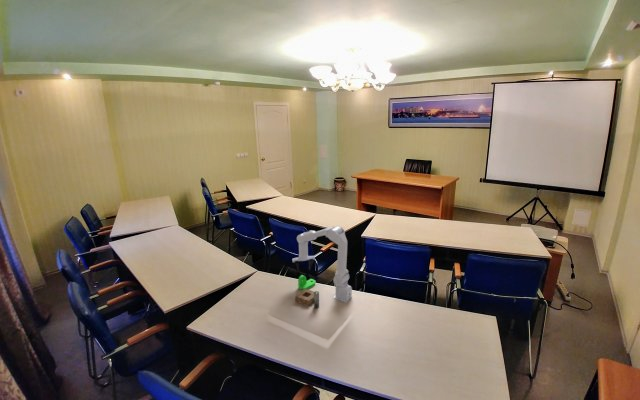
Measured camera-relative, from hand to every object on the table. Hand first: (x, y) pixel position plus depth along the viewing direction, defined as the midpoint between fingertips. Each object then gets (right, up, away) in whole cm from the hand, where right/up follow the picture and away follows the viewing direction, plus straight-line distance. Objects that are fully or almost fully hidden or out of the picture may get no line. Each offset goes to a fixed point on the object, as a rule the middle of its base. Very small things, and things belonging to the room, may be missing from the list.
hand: (304, 270), depth 187 cm
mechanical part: (+3, -10, +1) cm, 11 cm away
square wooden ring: (+3, -14, -16) cm, 21 cm away
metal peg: (+8, -15, -23) cm, 29 cm away
